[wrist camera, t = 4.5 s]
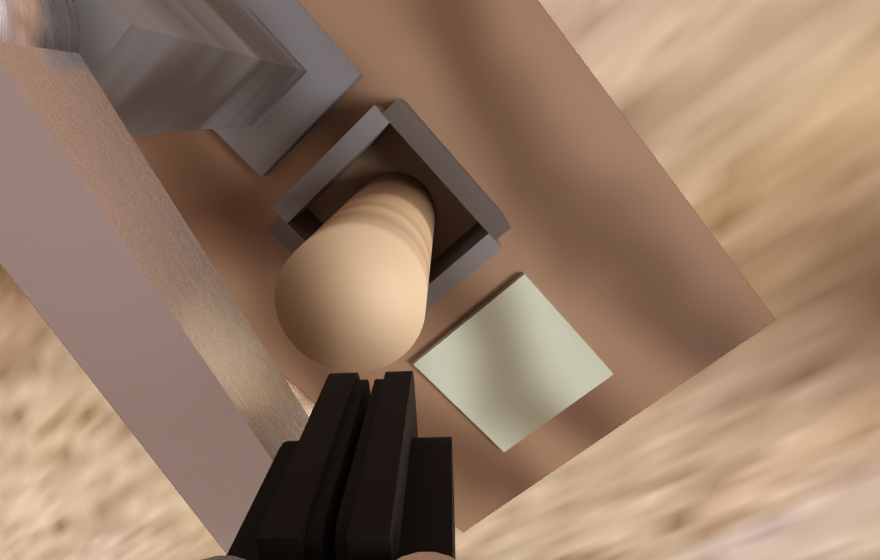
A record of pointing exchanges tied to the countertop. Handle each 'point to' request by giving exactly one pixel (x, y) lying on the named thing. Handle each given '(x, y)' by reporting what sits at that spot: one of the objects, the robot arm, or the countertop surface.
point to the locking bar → (129, 277)
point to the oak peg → (362, 278)
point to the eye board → (436, 205)
